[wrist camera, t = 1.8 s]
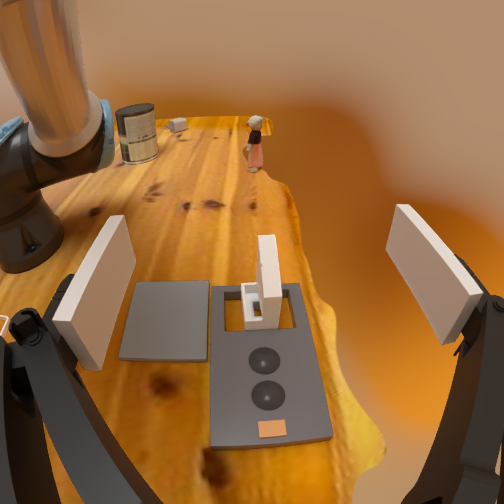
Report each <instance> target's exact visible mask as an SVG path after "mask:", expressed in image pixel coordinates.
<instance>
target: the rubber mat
mask: <svg viewBox="0 0 504 504" xmlns="http://www.w3.org/2000/svg"><path fill="white" fill-rule="evenodd" d="M208 303H209V280H204V281H158V282H136V285H135V289H134V293H133V297H132V301H131V304H130V308H129V312H128V317H127V321H126V325H125V329H124V334H123V338H122V342H121V347H120V352H119V359H120V360H131V361H154V362H207V336H208Z"/></svg>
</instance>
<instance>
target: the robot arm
mask: <svg viewBox="0 0 504 504" xmlns="http://www.w3.org/2000/svg"><path fill="white" fill-rule="evenodd" d="M0 61H1V63H2V66H3V68H4V70H5V72H6V75H7V76H8V79H9V81H10V83H11V85H12V87H13V89H14V91H15V93H16V95H17V97H18V99H19V101H20V103H21V105H22V107H23V108H24V110H25V112H26V114H27V116H28V118H29V120H30V121H29V122H27V123H23V122H24V120H23V119H22V118H21V116H19V117H17V118H14V119H11V120H10V121H8V122H6V123H4V124H2V125H1V126H0V267H1V269H2V270H4V271H5V272H8V273H18V272H23V271H26V270H28V269H31V268H33V267H35V266H37V265H38V264H40V263H42V262H43V261H44V260H46V259H47V258H48V257H49V256H51V255H52V254H53V253H54V252H55V250H56V249H57V248H58V247H59V245H60V244H61V242H62V240H63V237H64V230H63V227H62V225H61V222H60V220H59V218H58V217H57V216H56V215H55V214H54V213H53V211H52V210H51V208H50V207H49V206H48V204H47V203H46V201H45V200H44V199H43V196H42V194H41V190H40V189H41V188H45V187H47V186H50V185H53V184H56V183H59V182H62V181H65V180H68V179H71V178H75V177H78V176H81V175H85V174H88V173H95V172H97V171H98V170H100V169H103V168H106V167H108V166H110V165H111V164H112V162H113V160H114V154H115V143H114V126H113V117H112V111H111V107H110V104H109V102H108V101H107V100H105V99H98V98H97V97H96V95H95V94H93V93H92V92H90V91H89V90H88V88H87V83H86V77H85V70H84V64H83V57H82V49H81V41H80V32H79V22H78V11H77V0H0ZM386 251H387V253H388V255H389V256H390V257H391V259H392V261H393V262H394V264H395V265H396V267H397V269H398V270H399V272H400V273H401V275H402V276H403V278H404V280H405V281H406V283H407V285H408V286H409V288H410V290H411V292H412V293H413V295H414V297H415V298H416V300H417V302H418V303H419V305H420V307H421V309H422V310H423V312H424V314H425V316H426V318H427V319H428V321H429V323H430V325H431V327H432V329H433V330H434V332H435V334H436V336H437V338H438V340H439V342H440V344H441V345H445V344H449V343H452V342H455V341H456V339H457V338H458V336H459V334H460V333H461V332H462V334H463V336H464V339H463V341H462V342H461V344H460V345H459V347H458V348H457V350H456V351H455V353H454V356H456V355H457V353H458V352H459V356H458V361H457V365H456V369H455V374H454V378H453V382H452V386H451V390H450V393H449V397H448V400H447V403H446V407H445V410H444V413H443V416H442V419H441V422H440V426H439V428H438V431H437V434H436V437H435V440H434V443H433V445H432V447H431V450H430V453H429V455H428V458H427V460H426V463H425V465H424V467H423V469H422V472H421V474H420V476H419V479H418V481H417V482H416V484H415V486H414V487H413V488H412V489H411V491H410V492H409V493H408V494H407V495H406V496H405V498H404V499H403V501H402V502H401V504H495V502H496V499H497V504H504V299H503V298H502V297H500V296H496V295H490V294H489V293H488V291H487V290H486V288H485V287H484V286H483V285H482V283H481V282H480V280H479V279H478V278H477V277H476V276H475V275H474V273H473V272H472V270H471V269H470V268H469V267H468V265H467V264H466V263H465V262H464V260H462V259H461V258H459V257H458V256H457V255H456V254H453V253H452V252H451V251H450V250H449V248H448V247H447V246H446V245H445V244H444V243H443V241H442V240H441V239H440V238H439V237H438V236H437V234H436V233H435V232H434V231H433V230H432V229H431V228H430V227H429V226H428V225H427V223H426V222H425V221H424V220H423V219H422V218H421V217H420V216H419V215H418V214H417V213H416V212H415V211H414V209H413V208H411V206H410V205H401V204H397V205H396V209H395V213H394V217H393V222H392V226H391V230H390V234H389V238H388V242H387V246H386ZM136 262H137V261H136V258H135V254H134V250H133V247H132V243H131V239H130V235H129V232H128V228H127V224H126V220H125V215H116V216H110V217H109V218H108V220H107V221H106V223H105V225H104V226H103V228H102V229H101V231H100V233H99V234H98V236H97V238H96V239H95V241H94V242H93V244H92V246H91V248H90V249H89V251H88V253H87V254H86V256H85V258H84V260H83V261H82V263H81V265H80V267H79V268H78V270H77V272H76V274H69V275H68V276H67V277H66V278H65V279H64V280H63V281H62V282H61V283H60V285H59V287H58V289H57V291H56V293H55V294H54V296H53V298H52V299H53V300H51V302H50V304H49V306H48V308H47V310H46V312H45V314H44V316H43V318H42V319H41V317H40V315H39V314H38V312H37V310H36V309H34V308H25V309H22V310H20V311H19V312H17V313H16V314H15V315H14V316H13V317H12V319H11V321H10V323H9V327H8V330H9V332H10V333H11V334H12V336H13V337H14V339H15V340H16V342H11V343H7V342H6V341H5V340H4V338H3V337H2V336H0V504H61V501H60V498H59V494H58V491H57V487H56V484H55V480H54V476H53V472H52V468H51V464H50V459H49V454H48V450H47V444H46V439H45V433H44V427H43V421H44V423H45V426H46V428H47V430H48V433H49V435H50V438H51V440H52V442H53V444H54V447H55V449H56V451H57V453H58V455H59V457H60V459H61V461H62V463H63V465H64V467H65V469H66V471H67V473H68V475H69V477H70V479H71V481H72V482H73V484H74V486H75V488H76V489H77V491H78V493H79V495H80V496H81V498H82V500H83V501H84V503H85V504H163V503H162V501H161V500H160V499H159V498H158V497H157V495H156V494H155V493H154V492H153V490H152V489H151V488H150V487H149V485H148V484H147V483H146V482H145V480H144V479H143V478H142V476H141V475H140V474H139V472H138V471H137V470H136V468H135V467H134V465H133V464H132V463H131V461H130V460H129V458H128V457H127V455H126V454H125V453H124V451H123V450H122V448H121V447H120V445H119V444H118V442H117V440H116V439H115V437H114V436H113V434H112V433H111V431H110V429H109V428H108V426H107V424H106V423H105V421H104V419H103V418H102V416H101V414H100V413H99V411H98V409H97V407H96V406H95V404H94V402H93V400H92V398H91V396H90V395H89V393H88V391H87V389H86V387H85V385H84V383H83V381H82V379H81V377H80V375H79V373H78V372H77V370H76V369H75V368H76V365H77V362H78V361H79V363H80V364H81V366H82V367H83V368H84V369H85V370H95V371H101V370H102V367H103V363H104V359H105V356H106V352H107V349H108V345H109V342H110V339H111V336H112V332H113V329H114V326H115V323H116V320H117V316H118V313H119V310H120V307H121V304H122V301H123V299H124V296H125V293H126V290H127V287H128V284H129V281H130V279H131V276H132V273H133V270H134V268H135V265H136ZM42 418H43V421H42ZM501 442H502V445H501ZM500 446H501V466H500V476H499V475H497V474H496V473H495V466H496V463H497V459H498V455H499V451H500Z"/></svg>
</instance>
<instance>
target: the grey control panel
mask: <svg viewBox="0 0 504 504" xmlns="http://www.w3.org/2000/svg"><path fill="white" fill-rule="evenodd" d="M281 289H282V298H285V297H288V302H289V307H290V312H291V317H292V322H293V327H294V328H287V329H271V330H252V331H225V305H224V300H240V299H241V285H240V286H212V297H211V341H210V433H211V448H212V450H231V449H254V448H268V447H279V446H289V445H297V444H305V443H312V442H319V441H325V440H330V439H331V438H332V437H333V436H334V435H333V430H332V425H331V421H330V416H329V411H328V406H327V401H326V396H325V392H324V387H323V383H322V378H321V373H320V369H319V364H318V360H317V356H316V351H315V347H314V343H313V338H312V334H311V330H310V325H309V321H308V317H307V313H306V309H305V305H304V301H303V297H302V293H301V289H300V285H299V283H288V284H281Z"/></svg>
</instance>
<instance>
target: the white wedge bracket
mask: <svg viewBox="0 0 504 504" xmlns="http://www.w3.org/2000/svg"><path fill="white" fill-rule="evenodd" d="M281 303H282V289H281V280H280V271H279V262H278V253H277V245H276V237H275V235H258V249H257V275H256V282H254V283H241V305H242V314H243V323H244V331H252V330H271V329H278V325H279V318H280V310H281ZM254 310H261V315H262V316H255V314H254Z"/></svg>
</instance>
